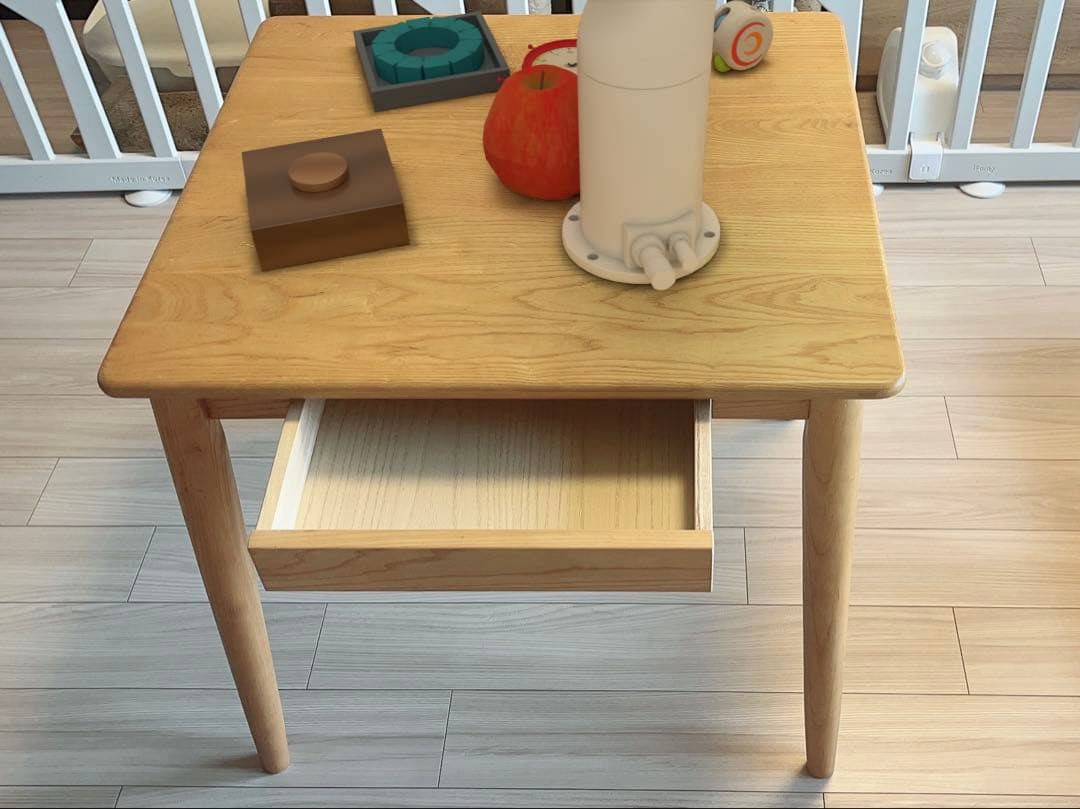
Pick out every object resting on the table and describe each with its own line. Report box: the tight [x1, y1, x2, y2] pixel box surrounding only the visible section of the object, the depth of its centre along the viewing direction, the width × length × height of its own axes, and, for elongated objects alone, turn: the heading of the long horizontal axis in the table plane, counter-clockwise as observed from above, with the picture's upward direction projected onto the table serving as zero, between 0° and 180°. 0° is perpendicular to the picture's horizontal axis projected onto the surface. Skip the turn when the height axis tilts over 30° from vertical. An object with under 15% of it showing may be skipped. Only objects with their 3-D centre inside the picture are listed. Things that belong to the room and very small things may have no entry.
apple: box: [482, 64, 580, 201], centre depth 93 cm, size 10×10×10 cm
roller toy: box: [712, 0, 774, 73], centre depth 109 cm, size 4×6×6 cm
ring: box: [371, 16, 484, 85], centre depth 112 cm, size 11×11×2 cm
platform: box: [241, 128, 411, 272], centre depth 93 cm, size 12×12×5 cm
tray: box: [352, 10, 511, 112], centre depth 112 cm, size 13×13×2 cm
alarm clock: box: [498, 38, 577, 83], centre depth 105 cm, size 10×6×15 cm
